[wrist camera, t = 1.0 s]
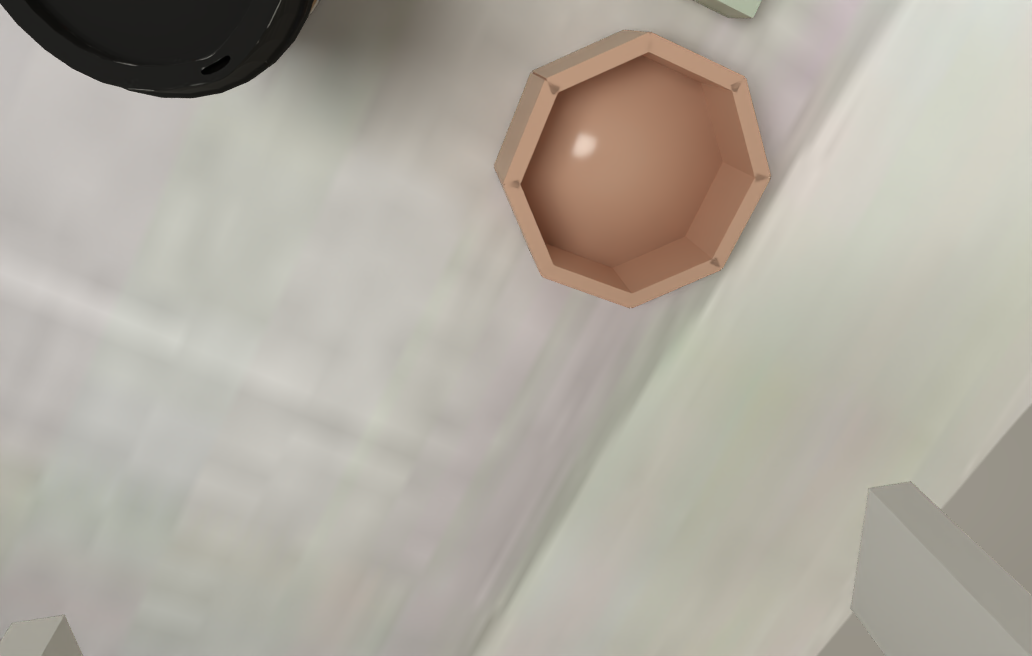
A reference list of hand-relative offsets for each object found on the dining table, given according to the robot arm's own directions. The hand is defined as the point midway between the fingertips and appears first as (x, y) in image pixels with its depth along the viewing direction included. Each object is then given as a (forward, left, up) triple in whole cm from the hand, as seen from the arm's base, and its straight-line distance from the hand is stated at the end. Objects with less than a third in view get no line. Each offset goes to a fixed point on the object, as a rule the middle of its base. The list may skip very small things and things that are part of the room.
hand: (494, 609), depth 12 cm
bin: (+7, +6, -26) cm, 27 cm away
